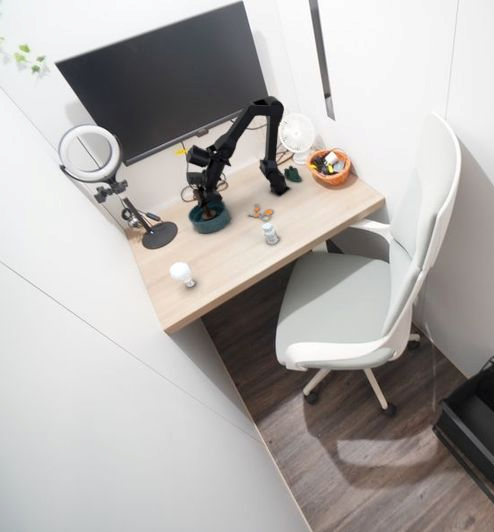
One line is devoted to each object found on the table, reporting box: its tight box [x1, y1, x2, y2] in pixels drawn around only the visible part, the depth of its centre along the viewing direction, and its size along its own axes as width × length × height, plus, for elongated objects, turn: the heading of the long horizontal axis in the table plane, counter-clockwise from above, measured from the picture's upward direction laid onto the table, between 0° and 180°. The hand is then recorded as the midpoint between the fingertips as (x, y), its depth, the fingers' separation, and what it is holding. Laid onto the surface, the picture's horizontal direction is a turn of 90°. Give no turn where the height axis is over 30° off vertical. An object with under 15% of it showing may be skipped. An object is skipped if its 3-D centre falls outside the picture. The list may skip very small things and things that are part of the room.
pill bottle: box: [262, 222, 279, 245], centre depth 121 cm, size 4×4×8 cm
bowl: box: [188, 200, 231, 234], centre depth 133 cm, size 15×15×6 cm
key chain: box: [248, 203, 273, 222], centre depth 135 cm, size 13×7×1 cm, turn 54°
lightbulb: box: [169, 261, 196, 288], centre depth 109 cm, size 6×6×11 cm
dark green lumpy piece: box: [283, 165, 303, 183], centre depth 149 cm, size 11×4×5 cm, turn 48°
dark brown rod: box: [192, 188, 218, 222], centre depth 130 cm, size 6×6×15 cm
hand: (199, 205), depth 130 cm, fingers closed on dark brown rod, 2 cm apart
